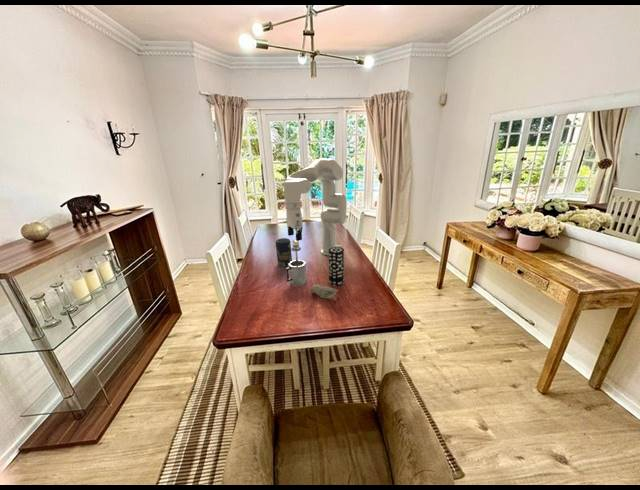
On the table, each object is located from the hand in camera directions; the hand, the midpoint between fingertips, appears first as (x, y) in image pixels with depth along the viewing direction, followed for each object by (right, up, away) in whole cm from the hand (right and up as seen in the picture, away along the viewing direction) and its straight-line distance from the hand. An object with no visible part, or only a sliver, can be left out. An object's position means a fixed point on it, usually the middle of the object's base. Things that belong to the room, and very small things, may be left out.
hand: (294, 237), depth 132 cm
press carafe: (0, -25, +10) cm, 27 cm away
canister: (-10, -17, +33) cm, 38 cm away
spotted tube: (+23, -25, +9) cm, 35 cm away
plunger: (+1, -16, +7) cm, 18 cm away
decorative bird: (+16, -31, -4) cm, 35 cm away
